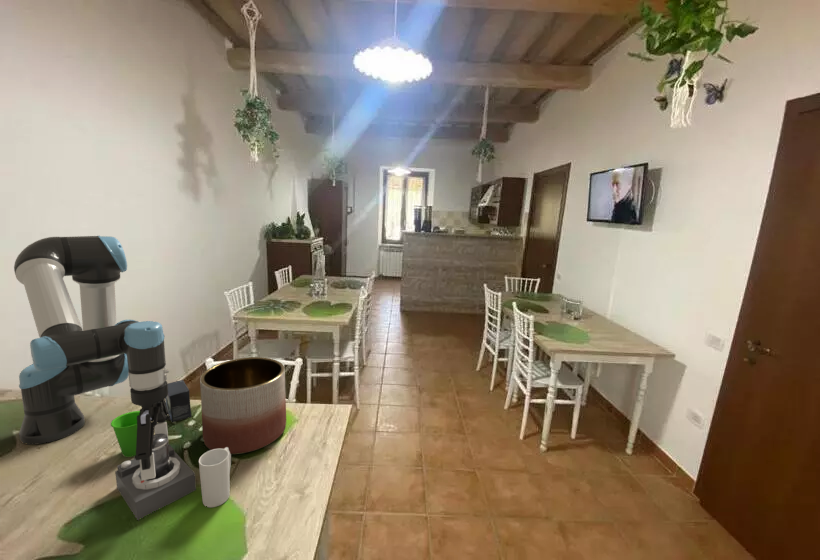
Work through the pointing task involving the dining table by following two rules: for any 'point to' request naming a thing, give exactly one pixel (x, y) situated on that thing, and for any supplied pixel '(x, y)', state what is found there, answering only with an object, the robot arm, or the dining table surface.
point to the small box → (178, 401)
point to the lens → (161, 455)
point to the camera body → (154, 485)
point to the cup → (126, 432)
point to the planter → (243, 404)
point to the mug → (215, 476)
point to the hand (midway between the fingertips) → (156, 460)
